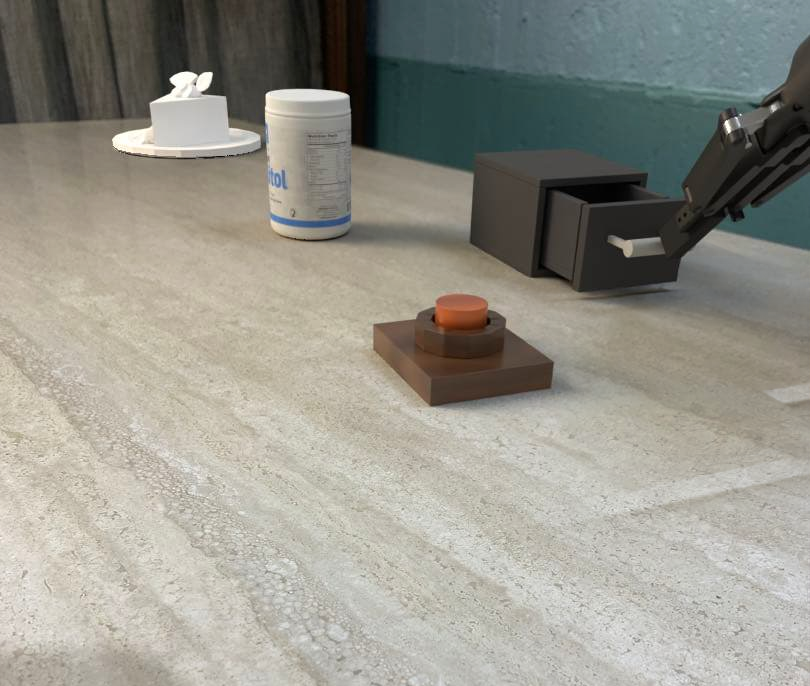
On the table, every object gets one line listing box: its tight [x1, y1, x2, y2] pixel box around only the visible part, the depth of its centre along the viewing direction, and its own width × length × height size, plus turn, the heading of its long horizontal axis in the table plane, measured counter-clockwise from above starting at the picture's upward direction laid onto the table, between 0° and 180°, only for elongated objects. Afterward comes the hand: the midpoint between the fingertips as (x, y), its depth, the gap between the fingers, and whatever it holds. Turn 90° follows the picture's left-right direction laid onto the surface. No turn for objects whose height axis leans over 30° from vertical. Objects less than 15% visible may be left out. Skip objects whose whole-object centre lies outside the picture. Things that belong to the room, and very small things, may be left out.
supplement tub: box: [264, 88, 352, 241], centre depth 99 cm, size 10×10×15 cm
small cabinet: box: [469, 147, 649, 279], centre depth 94 cm, size 15×13×10 cm
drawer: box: [538, 182, 697, 294], centre depth 86 cm, size 18×11×8 cm, turn 22°
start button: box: [434, 293, 489, 330], centre depth 66 cm, size 4×4×2 cm
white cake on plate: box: [112, 71, 262, 157], centre depth 147 cm, size 25×25×11 cm
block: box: [372, 306, 555, 408], centre depth 68 cm, size 12×10×4 cm
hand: (669, 245), depth 78 cm, fingers closed
